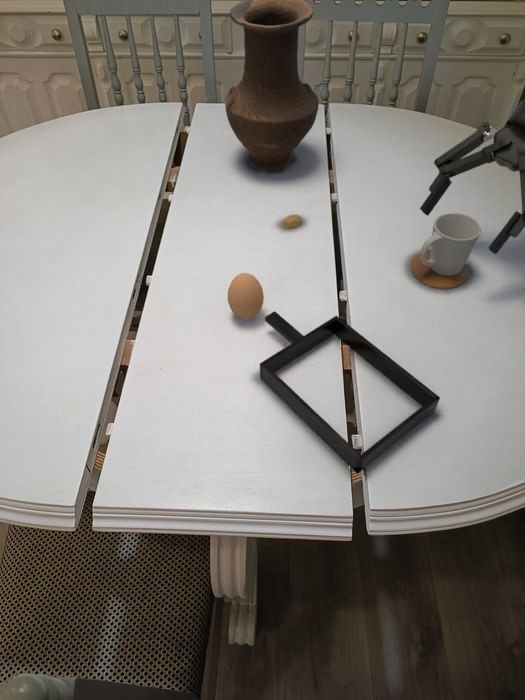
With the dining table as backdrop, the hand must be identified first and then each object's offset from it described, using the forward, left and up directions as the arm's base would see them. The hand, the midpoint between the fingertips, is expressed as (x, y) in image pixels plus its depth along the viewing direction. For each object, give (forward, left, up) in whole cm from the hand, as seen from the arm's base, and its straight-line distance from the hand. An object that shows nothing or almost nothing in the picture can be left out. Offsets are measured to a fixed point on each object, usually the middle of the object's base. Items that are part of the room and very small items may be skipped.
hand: (456, 231), depth 86 cm
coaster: (+1, 0, -9) cm, 9 cm away
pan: (-4, +32, -9) cm, 33 cm away
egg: (+14, +33, -9) cm, 37 cm away
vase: (+49, -1, -9) cm, 50 cm away
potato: (+28, +11, -9) cm, 32 cm away
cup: (+1, 0, -9) cm, 9 cm away
